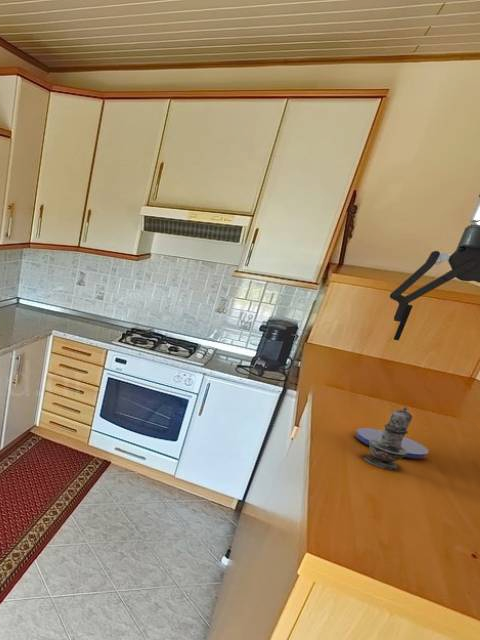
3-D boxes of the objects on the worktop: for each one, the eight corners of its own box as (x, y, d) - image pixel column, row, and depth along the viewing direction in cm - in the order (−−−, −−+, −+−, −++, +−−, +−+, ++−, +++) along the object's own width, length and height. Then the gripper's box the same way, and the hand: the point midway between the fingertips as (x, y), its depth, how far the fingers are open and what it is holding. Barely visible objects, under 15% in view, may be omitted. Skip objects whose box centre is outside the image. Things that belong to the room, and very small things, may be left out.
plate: (441, 462, 98) (444, 456, 98) (386, 458, 97) (389, 452, 97) (390, 436, 110) (393, 430, 109) (340, 432, 109) (343, 426, 108)
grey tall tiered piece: (378, 455, 98) (403, 401, 94) (407, 470, 93) (435, 413, 89) (354, 455, 97) (378, 399, 93) (382, 470, 92) (409, 412, 88)
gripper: (402, 218, 86) (358, 334, 93) (619, 233, 71) (548, 370, 79) (402, 220, 92) (360, 330, 99) (604, 234, 77) (538, 362, 84)
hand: (443, 348), depth 89 cm, fingers open, 13 cm apart
